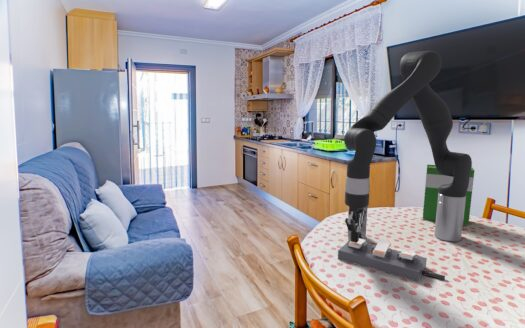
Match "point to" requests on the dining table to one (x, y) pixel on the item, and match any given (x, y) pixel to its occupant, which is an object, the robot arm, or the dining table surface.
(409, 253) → the rocker
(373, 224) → the dining table surface
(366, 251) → the power strip
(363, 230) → the coffee box
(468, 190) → the hardback book
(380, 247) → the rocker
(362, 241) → the block
